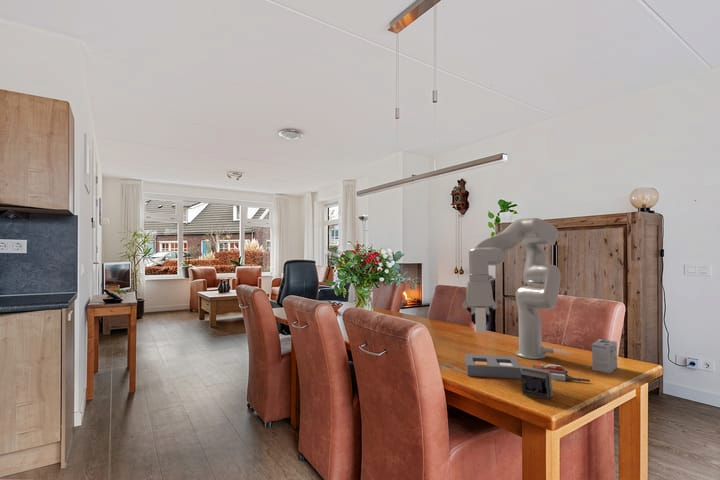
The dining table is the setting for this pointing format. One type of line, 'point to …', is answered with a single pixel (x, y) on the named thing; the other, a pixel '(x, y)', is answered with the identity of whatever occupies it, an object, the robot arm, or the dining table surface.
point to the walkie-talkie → (558, 373)
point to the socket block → (492, 366)
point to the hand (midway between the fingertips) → (480, 323)
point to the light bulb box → (604, 355)
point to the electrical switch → (536, 382)
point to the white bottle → (480, 319)
